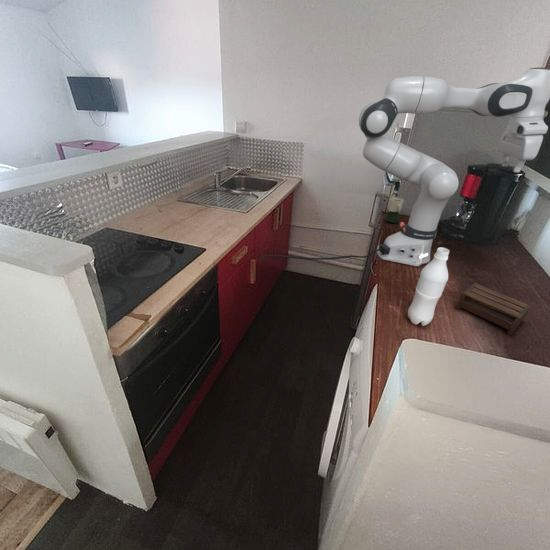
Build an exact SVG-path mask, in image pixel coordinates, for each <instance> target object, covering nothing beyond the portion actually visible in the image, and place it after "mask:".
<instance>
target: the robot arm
mask: <svg viewBox="0 0 550 550" xmlns="http://www.w3.org/2000/svg"><path fill="white" fill-rule="evenodd" d="M549 102H550V68H549V67H531V68H528V69H527V70H525V71H524V72H522V73H521V74H520V75H518V76H515V77H513V78H512V79H509V80H507V81H505V82H503V83H502V82H501V83H500V82H499V83H498V82H493V83H488V84H486V85H482V86H480V87H476V88H472V87H457V86H453V85H450V84H448V83H447V81H446V80H444V79H442V78H439V77H436V76H429V75H406V76H400V77H395V78H392V79H391V80H390V81H389V82H388V84H387V85H386V87H385V89H384V92H383V96H382V98H381V99H380V100H379V101H374V102H370V103H368V104H366V105H365V106H364V107H363V109H362V110H361V111H360V113H359V117H358V126H359V129H360V131H361V132H362V133H363V135H364V136H365V138H366V141H365V143H364V145H363V147H362V155H363V158H364V159H365V160H366V161H368V162H369V163H370V164H371V165H373V166H375V167H376V168H378V169H380V170H381V171H383V172H385V173H387V174H388V175H391V176H392V177H393V176H394V177H395V178H397V179H400V180H401V181H405V182H408V183H411V184H413V185H416V186H418V187H420V191H419V194H418V196H417V199H416V200H415V202H414V203H413V205H412V208H411V212H410V214H409V217H408V222H407V223H405V222H404V221H400V222H399V227H400V231H397V232H395V233H392V234H391V235H388V236H387V237H386V238H385V240H384V241H383V243H379V245H377V247H376V249H374V250H372V251H370V252H369V254H367V255H354V254H353V255H351V254H349V255H342V256H341V255H340V256H335V257H334V256H333V257H306V256H304V257H303V256H295V255H285V254H284V255H283V254H264V255H261V256H260V257H259V259H258V260H259V261H261V260H263V259H264V258H287V259H297V260H298V259H300V260H310V261H311V260H312V261H314V260H315V261H319V260H320V261H327V260H328V261H329V260H339V259H346V258H347V259H348V258H359V259H361V258H362V259H363V258H369V257H371V256H372V255H373V254H374V253H376V254H377V256H378V257H379V258H380V259H381V260H384V261H388V262H392V263H393V262H394V263H398V264H404V265H407V266H408V265H409V266H413V267H420V266H421V265H423V264H429V263H430V262H431V253H432V252H431V251H432V245H433V242H434V240H435V238H436V236H437V233H438V225H439V223H440V219H441V217H442V213H443V211H444V209H445V207H446V206H447V204H448V202H449V200H450V199H451V197H452V196H453V195H454V194H456V192H457V190H458V188H459V185H460V184H459V183H460V182H459V177H458V174H457V172H456V171H454V170H453V169H452V168H451V167H449V165H447V164H445V163H444V162H443V161H440V160H438V159H436V158H434V157H432V156H429V155H427V154H425V153H423V152H421V151H418V150H416V149H414V148H413V147H411V146H409V145H407V144H405V143H402V142H401V141H398V140H397V139H394V138H393V137H391V136H390V135H389V134H388V132H389V130H390V129H391V127H392V125H393V123H394V122H395V120H396V118H397V116H398V114H410V115H411V114H413V115H426V114H433V113H436V112H438V111H440V110H442V109H465V110H470V111H472V112H473V113H475V114H476V115H478V116H482V117H494V118H502V117H505V116H509V115H510V117H509V119H508V123H507V126H506V129H505V130H504V131H503V133H502V135H501V137H500V140H499V143H498V145H497V146H498V147H497V151H498V152H499V153H502V154H501V163H500V166H501V167H504V168H505V167H508V166H509V163H510V161H509V159H510V157H513V158H515V159H516V163H515V165H514V166H513V167H512V172H513V173H520V172H521V170H522V168H523V166H524V165H525V163H526V162H527V161H533V160H534V159H535V158H536V157H537V156H538V153H539V151H540V148H541V146H542V143H543V140H544V135H546V134H547V132H548V130H549V126H548V125H547V124H546V123H545V121H544V116H545V111H546V110H545V109H546V106H547V104H548V103H549Z"/></svg>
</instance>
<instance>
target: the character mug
mask: <svg viewBox="0 0 550 550" xmlns="http://www.w3.org/2000/svg"><path fill="white" fill-rule="evenodd" d="M404 201H405V200H404V198H402V197H394V196H393V197H390V198H389V202H388V205H387V210H388V213H387V216H386V219H385V221H386V223H387V222H388V223H391V224H393V223H395V224H396V223H398V221H399V213H400V212H401V211H402V209H403V205H404Z"/></svg>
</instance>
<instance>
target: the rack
mask: <svg viewBox="0 0 550 550" xmlns="http://www.w3.org/2000/svg"><path fill="white" fill-rule="evenodd" d="M531 307H532V305H530V304H528V303H525V302H522V301H520V300H517V299H516V298H512V297H510V296H507V295H505V294H502V293H501V292H498V291H495V290H494V289H491V288H488V287H486V286H484V285H481V284H479V283H477V282H474V283H473V284H471V285H470V286H469V287H468V288H467V289H465V290H464V291H463V292H461V295H460V298H459V300H458V302H457V304H456V307H455V310H457V311H459V310H461V309H464V310H465V311H468V312H470V313H471V314H474V315H476V316H479V317H480V318H483V320H484V319H485V320H487V321H488V322H491V323H493V324H495V325H497V326H499V327H501V328H503V329H505V330H507V332H506V335H509V336H511V335H512V334H513V333H514V332H515V330H516V329H517V328H518V327H519V325H520V324H521V323H522V322H523V320H524V318H525V317H526V316H527V313H528V312H529V310H531Z"/></svg>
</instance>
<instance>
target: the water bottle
mask: <svg viewBox="0 0 550 550" xmlns="http://www.w3.org/2000/svg"><path fill="white" fill-rule="evenodd" d="M449 255H450V249H449V248H446V247H441V246H440V247H437V249H436V252H434V254H433V258H432V260H430V261H429V262H428V263H426V265H425V266H424V267H423V268H422V269H421V270H420V275H419V277H418V280H417V283H416V286H415V293H414V296H413V299H412V302H411V304H410V306H409V307H408V309H407V318H408V319H409V320H410V322H411V323H412V324H413V325H415V326H416V325H419V324H421V326H422V327H425V326H427V325H429V324H430V323H431V322H432V320H433V318H434V316H435V309H436V306H437V303H438V301H439V300H440V298H441V296H442V295H443V292H444V290H445V288H446V284H447V282H448V281H449V270H448V266H447V261H448V260H449Z"/></svg>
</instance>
